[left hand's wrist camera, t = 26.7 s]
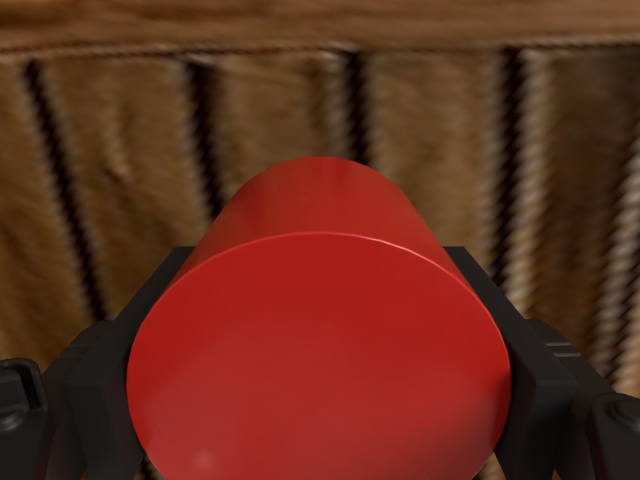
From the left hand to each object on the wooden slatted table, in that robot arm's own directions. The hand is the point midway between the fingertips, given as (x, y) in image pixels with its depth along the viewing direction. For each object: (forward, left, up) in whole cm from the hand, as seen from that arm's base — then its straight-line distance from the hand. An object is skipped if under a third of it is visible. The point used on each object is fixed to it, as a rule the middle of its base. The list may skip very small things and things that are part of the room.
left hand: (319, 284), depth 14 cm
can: (0, 0, -1) cm, 1 cm away
